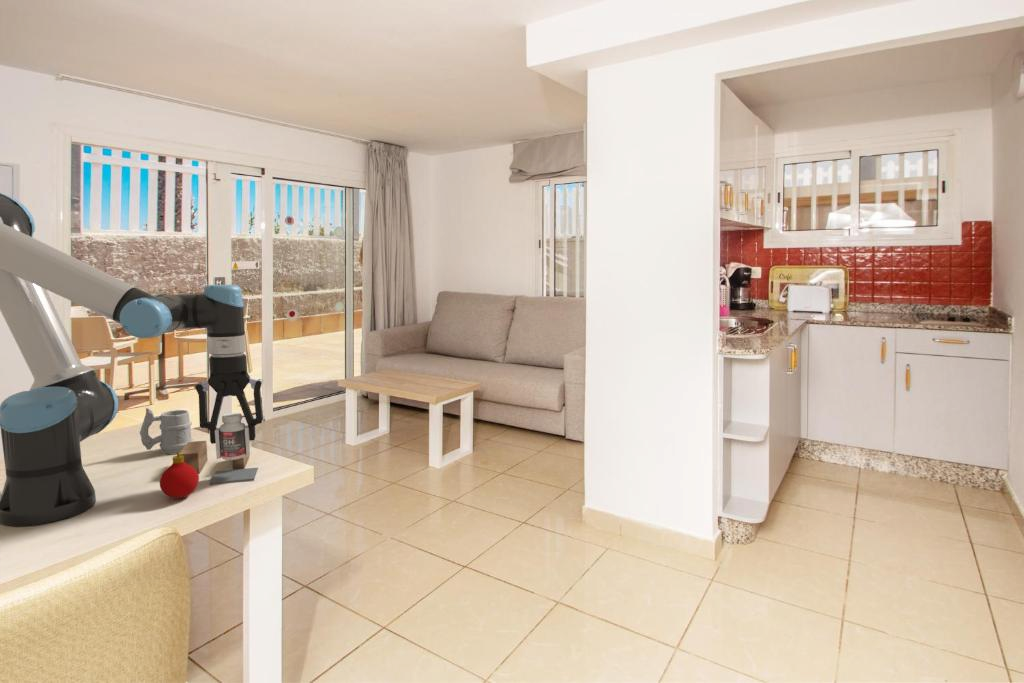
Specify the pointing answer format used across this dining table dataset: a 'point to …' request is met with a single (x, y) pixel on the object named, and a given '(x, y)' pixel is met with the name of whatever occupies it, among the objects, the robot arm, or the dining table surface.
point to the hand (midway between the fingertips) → (234, 455)
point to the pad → (234, 475)
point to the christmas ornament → (179, 478)
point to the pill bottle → (232, 437)
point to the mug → (168, 430)
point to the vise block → (205, 456)
